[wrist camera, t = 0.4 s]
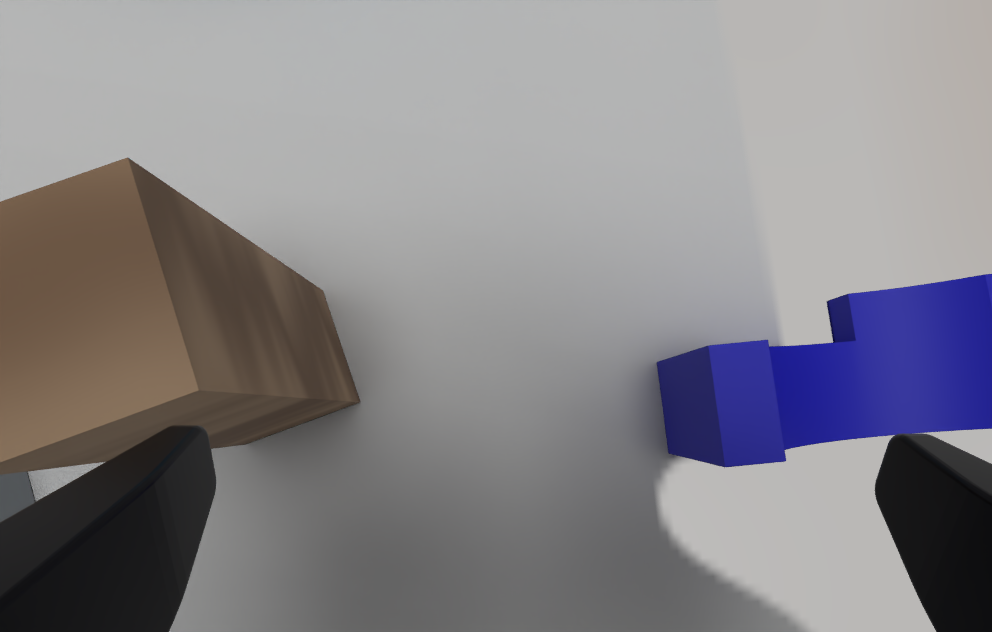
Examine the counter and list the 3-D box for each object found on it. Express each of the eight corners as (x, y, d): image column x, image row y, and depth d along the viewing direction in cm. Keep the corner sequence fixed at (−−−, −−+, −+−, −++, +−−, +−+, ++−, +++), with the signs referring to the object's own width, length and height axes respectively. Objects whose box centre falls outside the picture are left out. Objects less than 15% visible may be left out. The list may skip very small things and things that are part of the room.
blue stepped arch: (1002, 284, 24) (1169, 241, 18) (1028, 417, 23) (1211, 419, 17) (650, 318, 24) (700, 286, 18) (667, 452, 23) (725, 467, 17)
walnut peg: (360, 401, 23) (199, 390, 11) (245, 444, 23) (-52, 481, 11) (322, 290, 24) (127, 158, 11) (209, 331, 24) (-113, 240, 11)
